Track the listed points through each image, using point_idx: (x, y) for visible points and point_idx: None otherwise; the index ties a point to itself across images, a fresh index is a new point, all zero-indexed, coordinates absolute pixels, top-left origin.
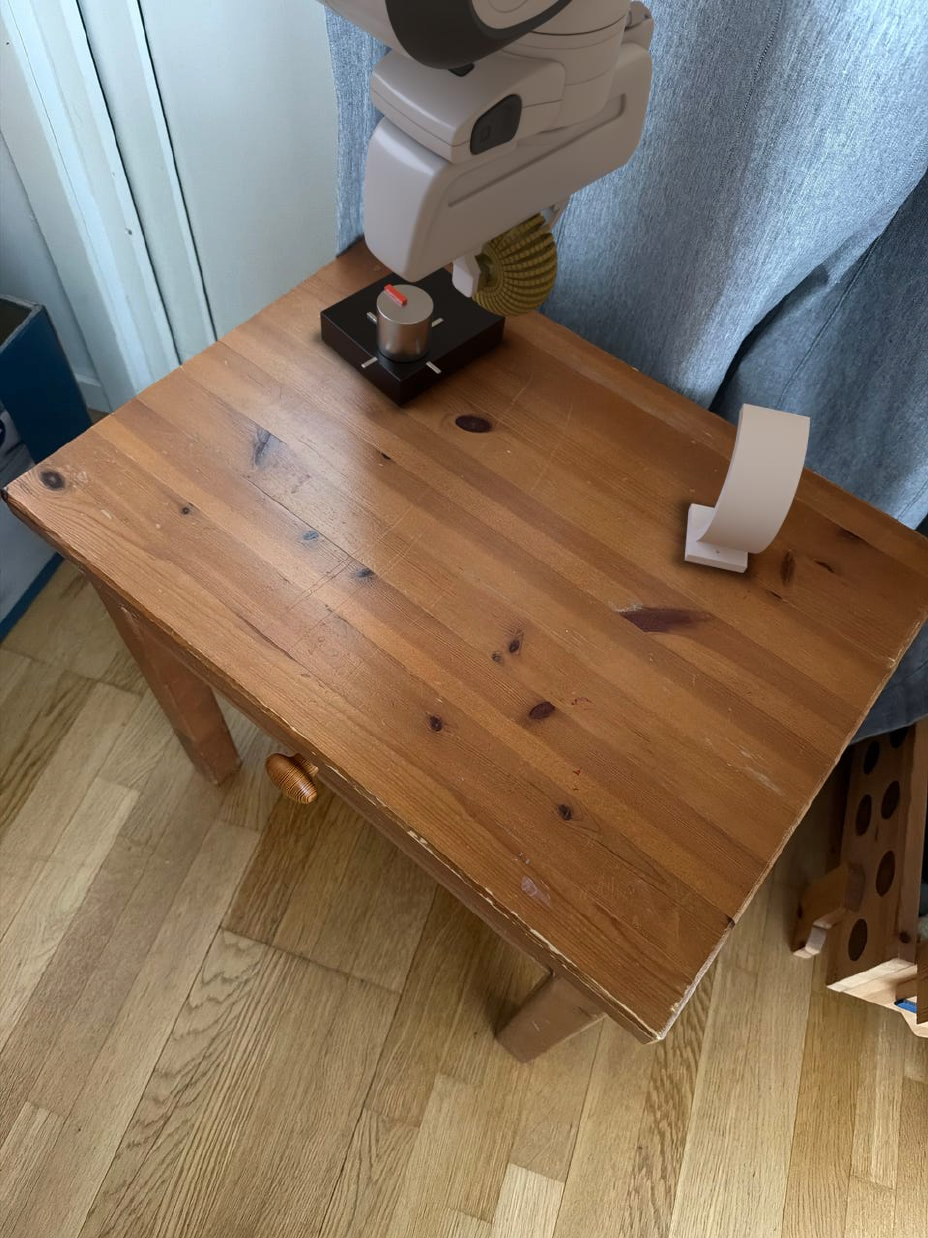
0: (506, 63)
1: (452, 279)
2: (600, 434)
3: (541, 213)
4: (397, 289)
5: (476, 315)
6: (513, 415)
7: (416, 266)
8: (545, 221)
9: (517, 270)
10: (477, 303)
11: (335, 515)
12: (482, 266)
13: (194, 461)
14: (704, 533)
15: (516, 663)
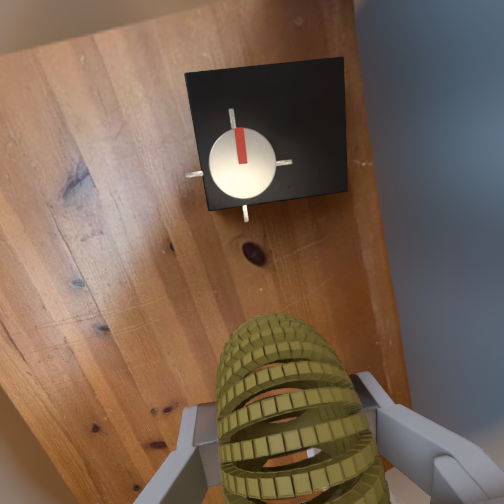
0: None
1: (183, 411)
2: (329, 308)
3: (412, 456)
4: (249, 137)
5: (325, 174)
6: (287, 262)
7: None
8: (402, 461)
9: (315, 381)
10: (336, 160)
11: (105, 276)
12: (221, 474)
13: (7, 164)
14: (307, 452)
15: (162, 418)
